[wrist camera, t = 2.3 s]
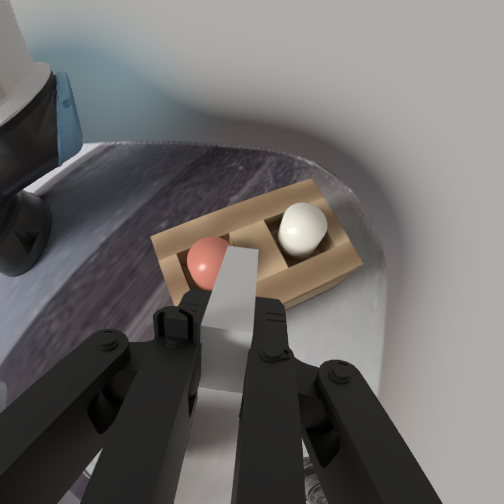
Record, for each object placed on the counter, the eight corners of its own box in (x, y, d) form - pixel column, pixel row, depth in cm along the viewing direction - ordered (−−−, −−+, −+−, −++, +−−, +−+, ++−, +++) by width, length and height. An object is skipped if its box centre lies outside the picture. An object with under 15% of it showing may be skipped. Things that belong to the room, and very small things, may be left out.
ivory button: (269, 230, 33) (275, 210, 29) (304, 217, 34) (313, 197, 30) (288, 265, 31) (296, 250, 27) (323, 249, 32) (335, 233, 28)
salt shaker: (311, 495, 27) (340, 536, 16) (276, 480, 28) (294, 523, 17) (336, 464, 29) (375, 495, 18) (302, 448, 30) (331, 480, 19)
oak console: (167, 264, 38) (150, 236, 30) (297, 214, 42) (311, 178, 34) (200, 347, 34) (189, 342, 26) (336, 285, 38) (363, 263, 30)
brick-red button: (187, 262, 31) (180, 247, 27) (225, 247, 32) (225, 229, 28) (202, 301, 29) (197, 291, 25) (243, 284, 30) (244, 271, 26)
